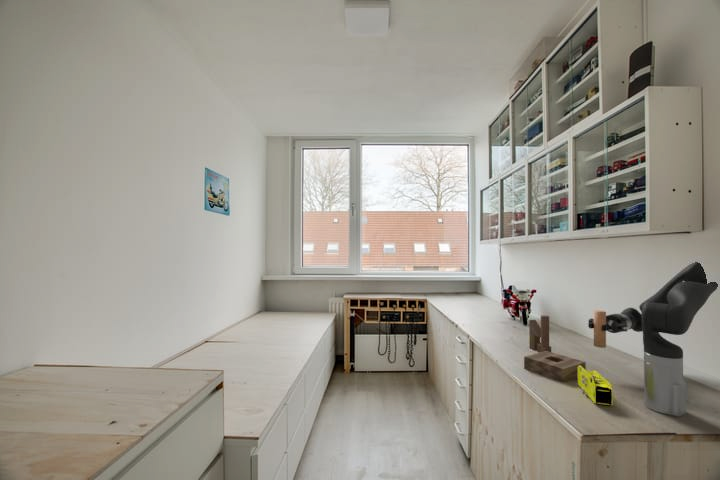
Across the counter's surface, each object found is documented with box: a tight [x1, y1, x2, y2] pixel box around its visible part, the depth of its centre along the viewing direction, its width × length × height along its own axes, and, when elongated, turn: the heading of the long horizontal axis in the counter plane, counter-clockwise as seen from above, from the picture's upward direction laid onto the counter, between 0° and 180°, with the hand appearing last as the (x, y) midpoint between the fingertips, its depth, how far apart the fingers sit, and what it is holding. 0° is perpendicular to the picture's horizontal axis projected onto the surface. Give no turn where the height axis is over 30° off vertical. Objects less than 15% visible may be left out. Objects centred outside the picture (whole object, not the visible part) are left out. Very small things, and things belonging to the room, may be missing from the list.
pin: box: [593, 310, 607, 349], centre depth 133 cm, size 4×4×14 cm
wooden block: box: [528, 314, 552, 353], centre depth 162 cm, size 4×11×18 cm, turn 12°
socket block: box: [523, 351, 587, 383], centre depth 135 cm, size 16×16×5 cm
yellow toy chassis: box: [577, 365, 614, 406], centre depth 113 cm, size 16×6×8 cm, turn 163°
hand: (596, 326), depth 131 cm, fingers closed on pin, 4 cm apart
